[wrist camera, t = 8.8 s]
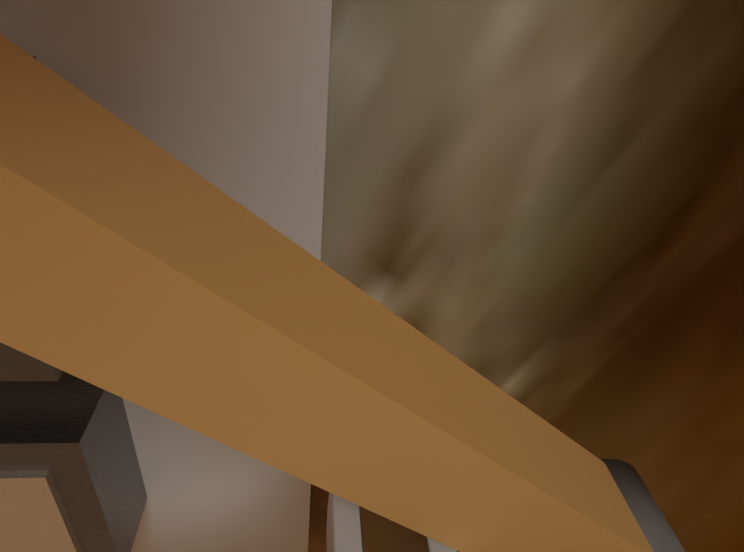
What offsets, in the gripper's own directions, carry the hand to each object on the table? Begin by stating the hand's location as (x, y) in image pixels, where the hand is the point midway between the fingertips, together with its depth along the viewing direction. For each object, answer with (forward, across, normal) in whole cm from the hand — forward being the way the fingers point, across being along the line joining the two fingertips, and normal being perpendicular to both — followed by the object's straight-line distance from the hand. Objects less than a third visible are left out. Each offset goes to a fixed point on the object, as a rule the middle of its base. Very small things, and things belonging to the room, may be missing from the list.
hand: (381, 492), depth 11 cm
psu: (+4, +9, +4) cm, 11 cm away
